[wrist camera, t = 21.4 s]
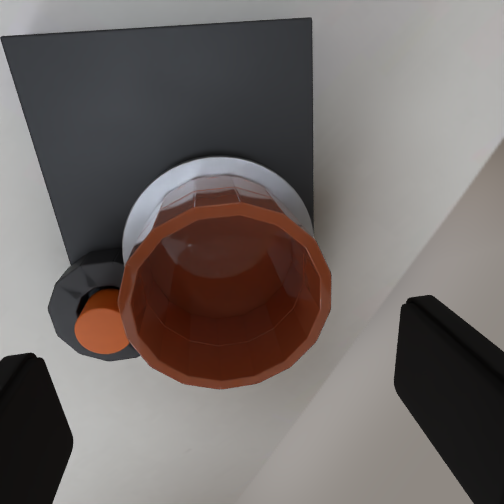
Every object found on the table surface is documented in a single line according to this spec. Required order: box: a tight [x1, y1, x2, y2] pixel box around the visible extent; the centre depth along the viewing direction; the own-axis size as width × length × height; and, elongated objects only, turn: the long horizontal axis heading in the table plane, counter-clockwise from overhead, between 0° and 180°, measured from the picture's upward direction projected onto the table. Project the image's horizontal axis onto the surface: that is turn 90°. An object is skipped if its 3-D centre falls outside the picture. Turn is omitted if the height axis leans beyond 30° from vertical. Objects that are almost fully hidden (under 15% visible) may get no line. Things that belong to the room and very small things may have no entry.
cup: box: [118, 175, 331, 389], centre depth 13 cm, size 7×7×4 cm
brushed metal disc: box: [122, 155, 314, 267], centre depth 16 cm, size 8×8×1 cm
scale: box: [0, 17, 314, 361], centre depth 16 cm, size 14×13×4 cm
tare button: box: [74, 289, 130, 354], centre depth 16 cm, size 2×2×2 cm
